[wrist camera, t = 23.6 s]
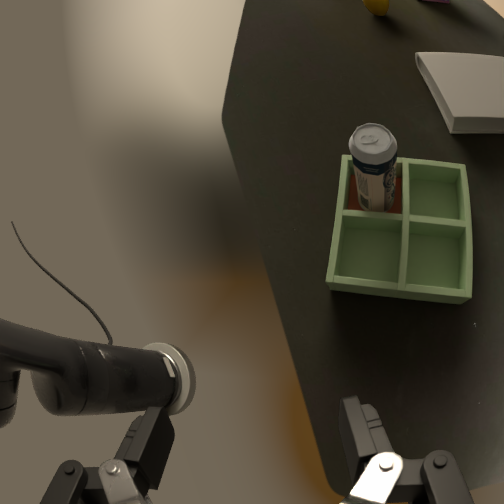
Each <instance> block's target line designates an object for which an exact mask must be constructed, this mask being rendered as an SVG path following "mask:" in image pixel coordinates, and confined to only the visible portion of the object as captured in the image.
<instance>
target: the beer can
mask: <svg viewBox="0 0 504 504" xmlns="http://www.w3.org/2000/svg"><path fill="white" fill-rule="evenodd" d="M349 148H350V152H351V154H352V160H353V166H354V172H355V178H356V185H357V191H358V202H359V204H360V206H361V207H362V208H363V209H364V210H365V211H371V212H383V213H385V212H386V211H388V210H389V209H390V208H391V207H392V205H393V203H394V197H395V183H396V163H397V143H396V140H395V138H394V136H393V135H392V134H391V133H390V131H389V130H387V129H386V128H385V127H383V126H382V125H380V124H372V123H367V124H365V125H362V126H359V127H357V129H356V130H355V132H354V133H353V135H352V136H351V138H350V141H349Z"/></svg>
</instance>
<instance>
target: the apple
mask: <svg viewBox="0 0 504 504" xmlns="http://www.w3.org/2000/svg"><path fill="white" fill-rule="evenodd" d="M363 3H364V5H365V6H366V8H367V9H368V10H369V11H370V12H371V13H372V14H374V15H379V16H384V15H385V14H386V13H387V11H388V8H389V0H363Z"/></svg>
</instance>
